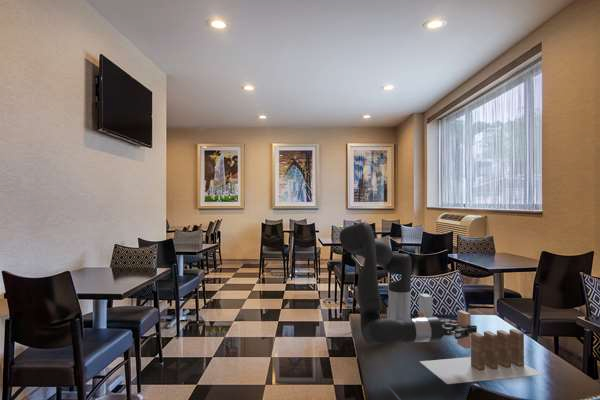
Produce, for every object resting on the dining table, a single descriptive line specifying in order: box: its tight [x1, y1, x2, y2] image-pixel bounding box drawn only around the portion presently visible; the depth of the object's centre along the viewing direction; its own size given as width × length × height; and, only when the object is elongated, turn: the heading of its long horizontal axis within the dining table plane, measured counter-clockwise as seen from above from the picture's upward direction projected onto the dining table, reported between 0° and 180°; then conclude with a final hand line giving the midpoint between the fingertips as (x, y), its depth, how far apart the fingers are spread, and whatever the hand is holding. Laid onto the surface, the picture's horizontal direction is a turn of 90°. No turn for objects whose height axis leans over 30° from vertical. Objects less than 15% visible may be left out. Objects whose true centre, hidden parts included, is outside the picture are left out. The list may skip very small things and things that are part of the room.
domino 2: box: [483, 330, 498, 369], centre depth 120 cm, size 2×4×11 cm, turn 11°
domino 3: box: [496, 329, 511, 368], centre depth 121 cm, size 2×4×11 cm, turn 11°
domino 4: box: [509, 329, 525, 367], centre depth 122 cm, size 2×4×11 cm, turn 11°
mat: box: [419, 356, 543, 385], centre depth 119 cm, size 34×16×1 cm, turn 101°
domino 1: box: [470, 331, 485, 371], centre depth 119 cm, size 2×4×11 cm, turn 11°
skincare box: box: [418, 293, 433, 317], centre depth 170 cm, size 6×4×12 cm
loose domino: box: [456, 310, 472, 349], centre depth 118 cm, size 2×4×11 cm, turn 11°
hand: (471, 326), depth 118 cm, fingers closed on loose domino, 4 cm apart
